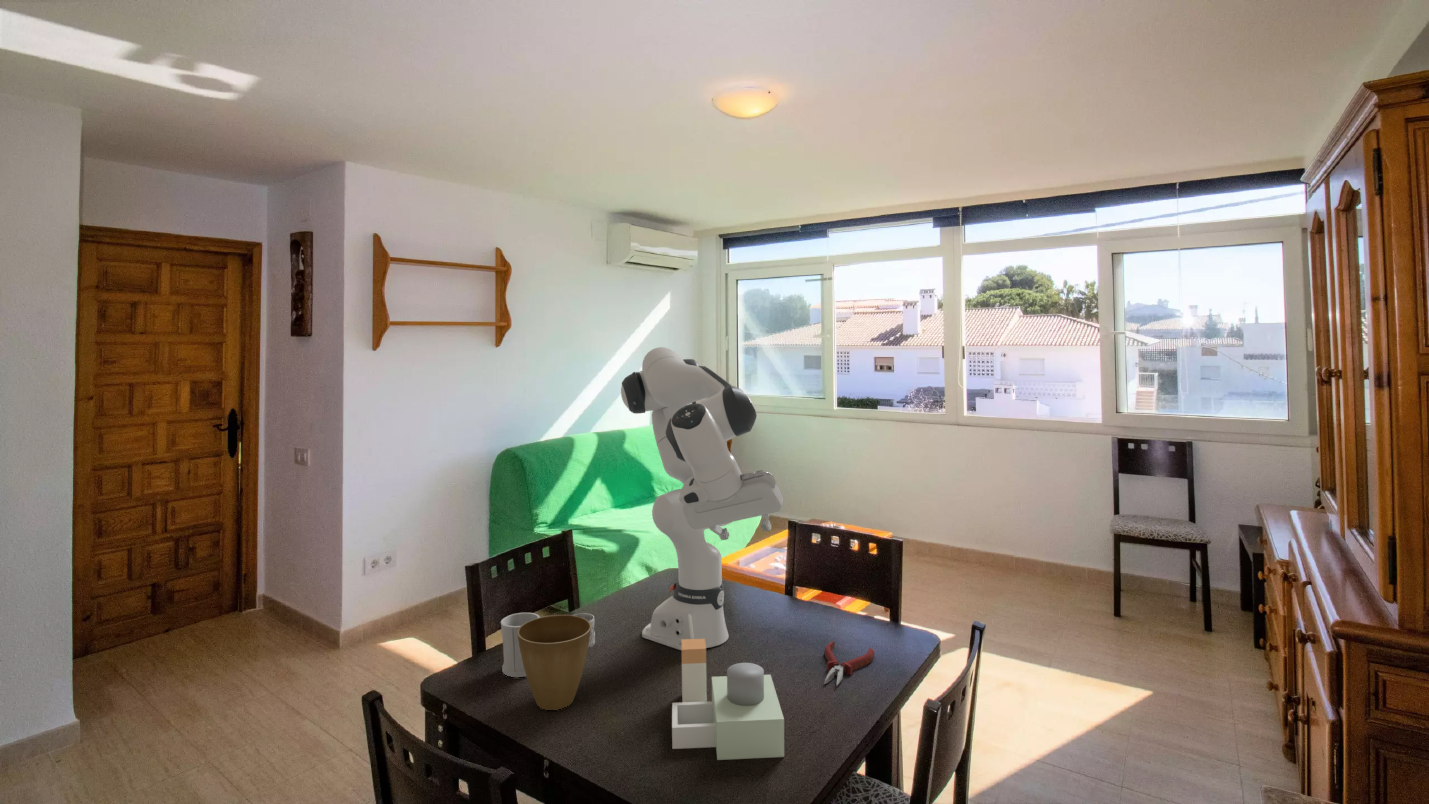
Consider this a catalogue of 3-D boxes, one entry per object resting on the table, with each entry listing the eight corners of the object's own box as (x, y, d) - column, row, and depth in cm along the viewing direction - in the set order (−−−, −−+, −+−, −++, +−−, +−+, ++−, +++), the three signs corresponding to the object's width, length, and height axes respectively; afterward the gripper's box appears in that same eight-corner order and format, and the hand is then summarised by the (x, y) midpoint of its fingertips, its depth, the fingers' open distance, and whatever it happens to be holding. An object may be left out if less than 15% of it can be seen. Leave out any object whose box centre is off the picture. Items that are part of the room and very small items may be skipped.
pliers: (804, 684, 147) (804, 673, 147) (829, 649, 166) (829, 638, 165) (856, 695, 143) (856, 683, 142) (875, 657, 161) (876, 646, 161)
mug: (600, 643, 169) (599, 617, 169) (579, 652, 164) (578, 625, 164) (575, 633, 176) (574, 608, 175) (554, 641, 171) (553, 615, 170)
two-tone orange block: (682, 706, 138) (681, 649, 137) (682, 694, 143) (681, 639, 142) (706, 705, 138) (706, 648, 137) (705, 693, 143) (704, 638, 142)
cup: (555, 667, 156) (554, 616, 155) (529, 684, 148) (527, 631, 147) (520, 659, 161) (518, 610, 160) (492, 675, 152) (491, 623, 152)
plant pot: (525, 728, 130) (522, 648, 129) (515, 693, 144) (513, 620, 143) (600, 711, 136) (598, 634, 135) (584, 679, 150) (582, 609, 149)
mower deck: (672, 761, 119) (671, 696, 118) (672, 711, 136) (671, 654, 135) (784, 756, 120) (784, 691, 119) (770, 707, 137) (770, 650, 136)
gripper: (771, 459, 131) (795, 513, 136) (679, 481, 138) (705, 532, 144) (767, 478, 126) (792, 534, 131) (671, 500, 133) (699, 552, 138)
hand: (746, 533), depth 137 cm, fingers open, 8 cm apart
